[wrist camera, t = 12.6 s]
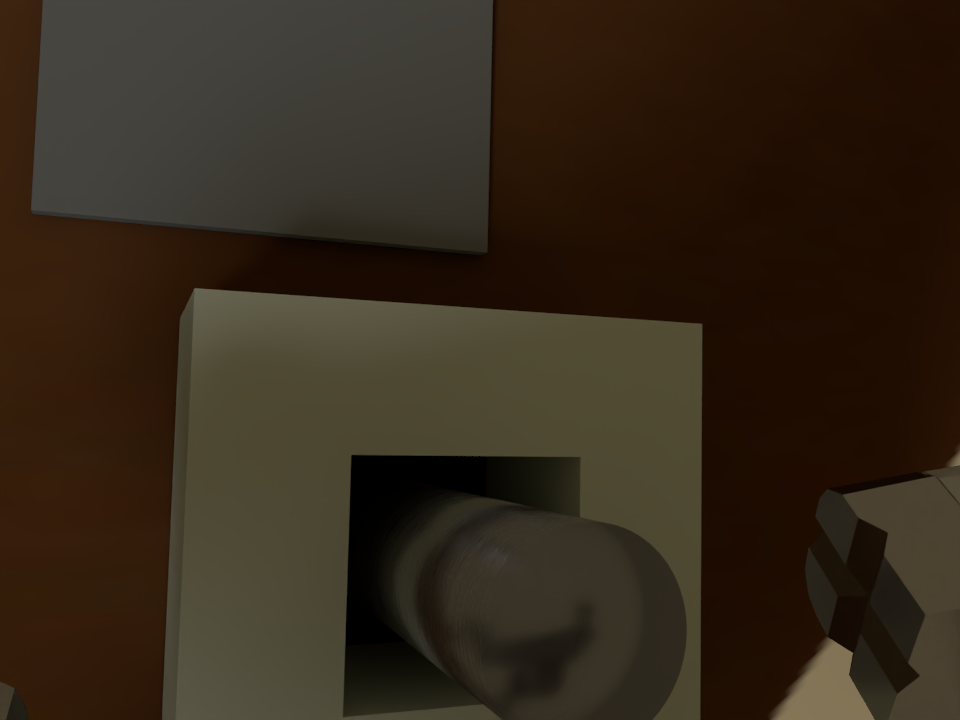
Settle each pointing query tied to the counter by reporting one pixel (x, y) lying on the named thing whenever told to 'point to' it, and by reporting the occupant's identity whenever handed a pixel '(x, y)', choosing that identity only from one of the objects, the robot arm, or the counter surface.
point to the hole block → (398, 431)
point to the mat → (270, 118)
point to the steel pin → (520, 601)
